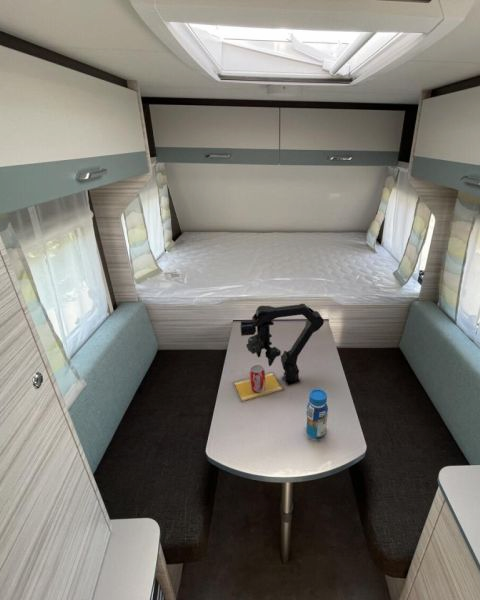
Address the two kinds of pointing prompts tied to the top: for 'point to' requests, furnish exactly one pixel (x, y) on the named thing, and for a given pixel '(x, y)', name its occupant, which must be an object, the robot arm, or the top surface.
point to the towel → (270, 387)
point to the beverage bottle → (317, 414)
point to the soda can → (257, 379)
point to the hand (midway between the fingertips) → (264, 361)
